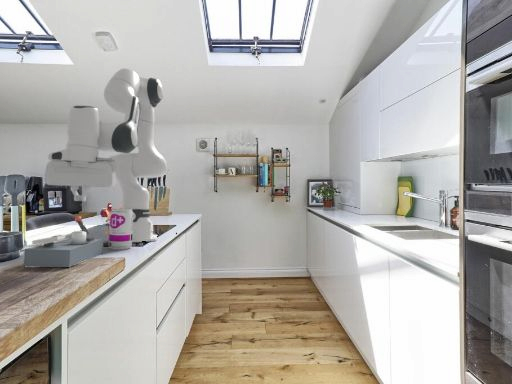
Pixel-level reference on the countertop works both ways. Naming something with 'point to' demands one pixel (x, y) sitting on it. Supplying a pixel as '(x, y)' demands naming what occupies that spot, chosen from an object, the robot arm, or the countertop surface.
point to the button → (78, 237)
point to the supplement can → (120, 229)
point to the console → (62, 253)
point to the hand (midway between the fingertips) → (80, 201)
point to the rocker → (48, 239)
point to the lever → (81, 224)
